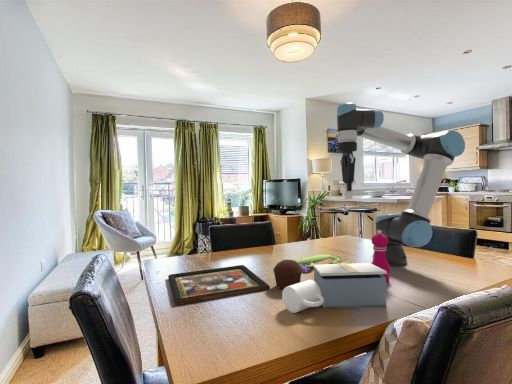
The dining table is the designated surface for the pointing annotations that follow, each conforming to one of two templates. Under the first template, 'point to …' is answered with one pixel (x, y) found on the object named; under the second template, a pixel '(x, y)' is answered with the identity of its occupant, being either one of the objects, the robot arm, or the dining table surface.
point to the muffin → (287, 273)
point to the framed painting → (214, 284)
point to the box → (352, 290)
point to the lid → (348, 269)
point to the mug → (302, 296)
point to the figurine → (316, 259)
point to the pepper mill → (380, 253)
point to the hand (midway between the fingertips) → (348, 198)
